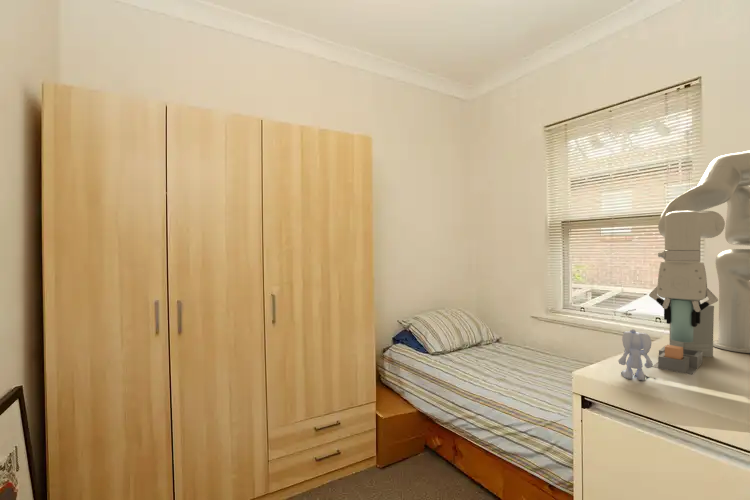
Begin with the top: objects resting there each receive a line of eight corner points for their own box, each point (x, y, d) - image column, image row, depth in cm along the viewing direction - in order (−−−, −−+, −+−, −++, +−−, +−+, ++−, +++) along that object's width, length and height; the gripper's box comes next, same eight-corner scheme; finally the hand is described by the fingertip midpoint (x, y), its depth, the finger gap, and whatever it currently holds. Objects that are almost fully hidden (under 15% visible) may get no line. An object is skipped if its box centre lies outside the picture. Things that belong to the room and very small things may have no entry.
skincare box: (696, 353, 114) (697, 301, 114) (715, 360, 107) (716, 304, 107) (666, 352, 115) (667, 300, 115) (683, 359, 108) (684, 304, 108)
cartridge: (672, 337, 106) (672, 297, 106) (694, 340, 102) (694, 299, 102) (668, 340, 102) (668, 299, 102) (691, 343, 99) (691, 301, 99)
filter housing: (665, 359, 108) (665, 345, 108) (702, 366, 102) (702, 351, 102) (651, 370, 98) (652, 355, 98) (691, 378, 92) (692, 362, 92)
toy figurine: (648, 376, 93) (649, 327, 93) (654, 384, 88) (655, 332, 88) (615, 372, 96) (616, 324, 96) (619, 379, 91) (620, 329, 90)
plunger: (667, 363, 99) (667, 344, 99) (682, 366, 96) (683, 347, 96) (664, 366, 97) (664, 346, 97) (680, 369, 94) (680, 349, 94)
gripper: (640, 256, 106) (640, 321, 106) (722, 258, 93) (722, 332, 93) (647, 256, 111) (647, 318, 111) (726, 257, 98) (726, 327, 98)
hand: (681, 323), depth 102 cm, fingers closed on cartridge, 4 cm apart
